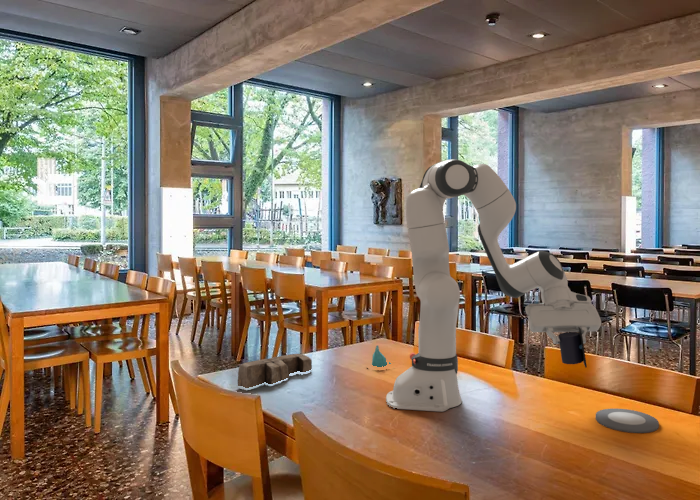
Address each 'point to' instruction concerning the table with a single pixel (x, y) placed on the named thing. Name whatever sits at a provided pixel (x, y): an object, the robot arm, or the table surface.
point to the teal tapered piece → (378, 358)
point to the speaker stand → (627, 420)
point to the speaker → (572, 348)
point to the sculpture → (272, 369)
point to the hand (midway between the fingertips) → (570, 342)
